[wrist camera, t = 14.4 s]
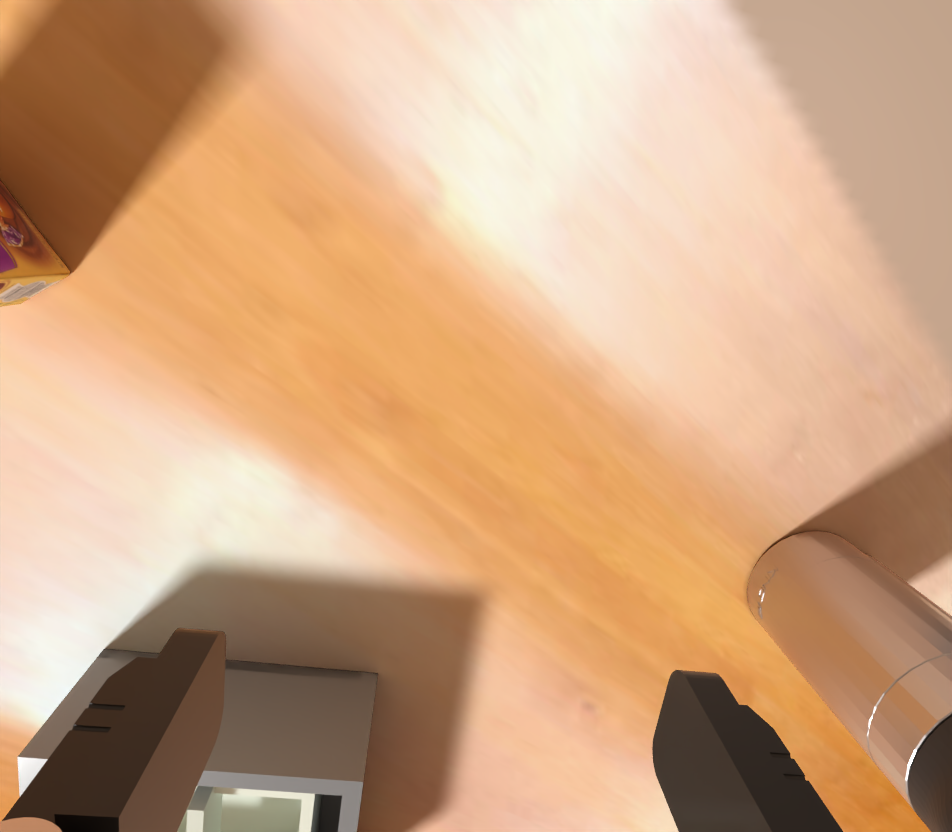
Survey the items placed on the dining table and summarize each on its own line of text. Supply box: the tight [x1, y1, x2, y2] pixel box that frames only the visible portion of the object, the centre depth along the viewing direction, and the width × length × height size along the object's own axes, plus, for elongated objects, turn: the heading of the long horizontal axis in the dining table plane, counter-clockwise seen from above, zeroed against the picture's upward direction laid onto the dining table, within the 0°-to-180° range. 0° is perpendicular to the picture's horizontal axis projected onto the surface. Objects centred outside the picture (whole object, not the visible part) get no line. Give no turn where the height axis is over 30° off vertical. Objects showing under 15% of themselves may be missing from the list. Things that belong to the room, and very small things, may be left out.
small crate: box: [177, 786, 323, 832], centre depth 45 cm, size 14×14×9 cm
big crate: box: [18, 649, 378, 832], centre depth 45 cm, size 20×20×10 cm
